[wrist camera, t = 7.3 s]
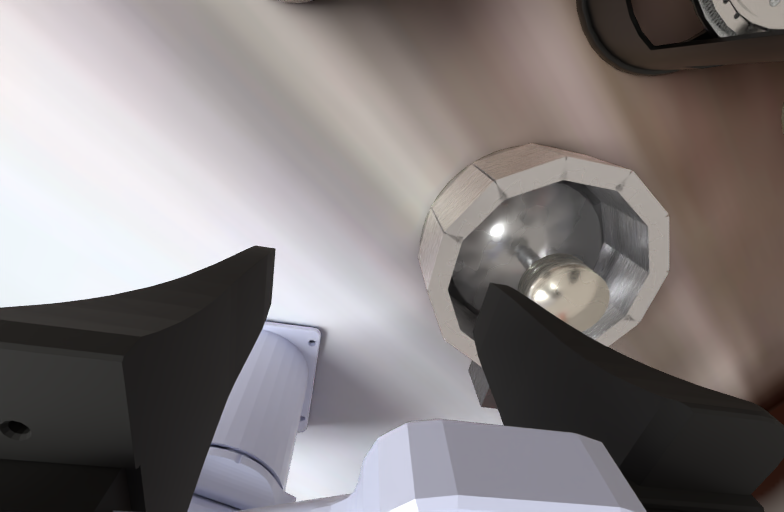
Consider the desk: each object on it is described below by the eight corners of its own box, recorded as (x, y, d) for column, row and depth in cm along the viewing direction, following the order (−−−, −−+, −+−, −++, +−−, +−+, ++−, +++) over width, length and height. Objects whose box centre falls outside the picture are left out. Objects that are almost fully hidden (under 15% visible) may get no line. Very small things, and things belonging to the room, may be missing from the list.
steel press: (549, 371, 27) (581, 422, 23) (391, 351, 26) (395, 402, 22) (649, 167, 21) (717, 188, 17) (449, 124, 20) (470, 135, 15)
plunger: (561, 321, 24) (615, 388, 19) (432, 302, 23) (451, 368, 18) (621, 193, 21) (708, 231, 15) (473, 163, 20) (512, 193, 14)
